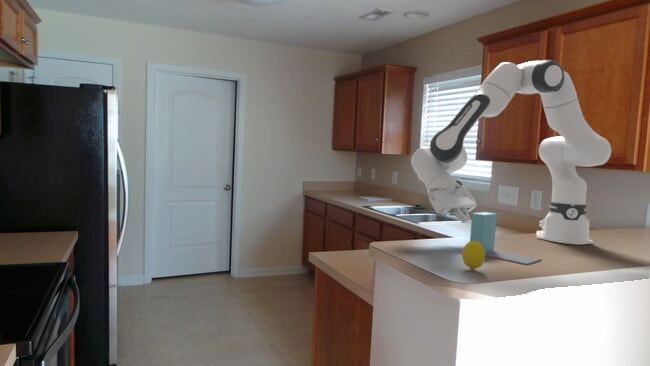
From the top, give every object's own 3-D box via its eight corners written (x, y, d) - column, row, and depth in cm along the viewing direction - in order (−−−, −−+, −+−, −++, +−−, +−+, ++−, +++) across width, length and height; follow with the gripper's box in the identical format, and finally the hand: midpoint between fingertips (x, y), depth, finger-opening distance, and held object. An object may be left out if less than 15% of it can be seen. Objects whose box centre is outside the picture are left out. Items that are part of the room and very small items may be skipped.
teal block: (469, 251, 136) (472, 213, 136) (482, 248, 142) (484, 211, 141) (481, 254, 134) (484, 215, 133) (493, 251, 139) (496, 213, 138)
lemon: (465, 266, 117) (467, 236, 117) (486, 270, 114) (488, 240, 114) (458, 270, 113) (460, 239, 112) (480, 274, 110) (482, 243, 109)
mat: (482, 255, 132) (482, 254, 132) (498, 251, 139) (498, 250, 139) (526, 265, 123) (526, 263, 123) (541, 260, 129) (541, 259, 129)
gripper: (431, 182, 139) (456, 217, 132) (465, 182, 153) (489, 214, 146) (418, 195, 142) (442, 230, 136) (452, 193, 156) (476, 225, 150)
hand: (467, 221), depth 141 cm, fingers closed
